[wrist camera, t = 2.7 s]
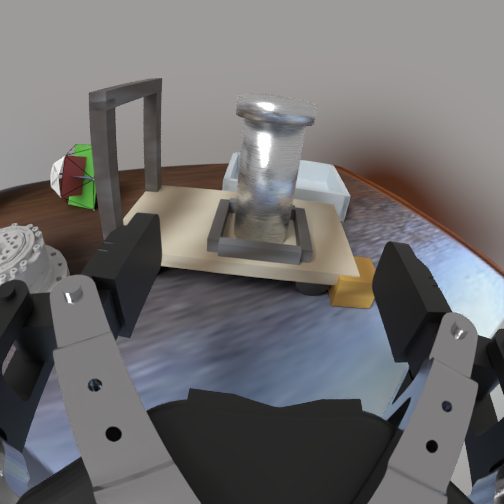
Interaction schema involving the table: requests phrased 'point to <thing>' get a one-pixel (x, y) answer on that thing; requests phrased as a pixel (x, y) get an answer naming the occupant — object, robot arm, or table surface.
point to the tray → (305, 184)
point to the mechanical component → (30, 259)
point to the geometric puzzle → (76, 177)
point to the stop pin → (269, 164)
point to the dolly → (221, 216)
